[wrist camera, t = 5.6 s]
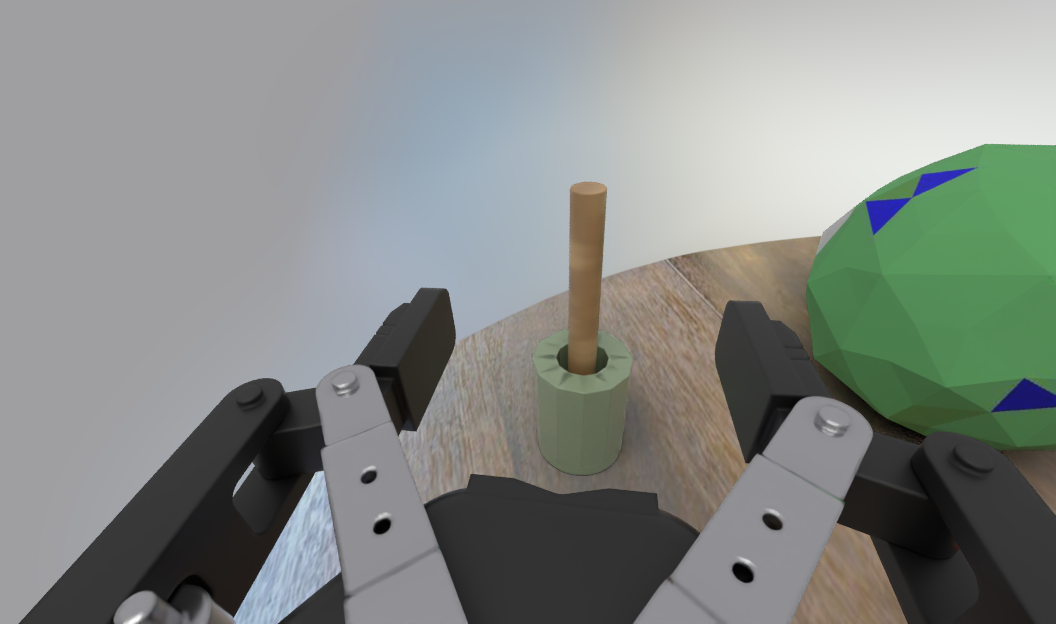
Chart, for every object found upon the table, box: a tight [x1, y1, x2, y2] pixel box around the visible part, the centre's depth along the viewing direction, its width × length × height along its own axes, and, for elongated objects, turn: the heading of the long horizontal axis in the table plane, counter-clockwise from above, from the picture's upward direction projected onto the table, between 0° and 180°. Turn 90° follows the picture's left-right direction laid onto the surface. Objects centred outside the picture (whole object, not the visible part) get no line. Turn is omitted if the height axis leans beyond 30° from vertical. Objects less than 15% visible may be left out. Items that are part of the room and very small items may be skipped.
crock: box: [532, 329, 633, 475], centre depth 30 cm, size 6×6×8 cm
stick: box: [568, 182, 607, 376], centre depth 26 cm, size 2×2×18 cm
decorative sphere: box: [806, 144, 1056, 451], centre depth 28 cm, size 19×20×20 cm
